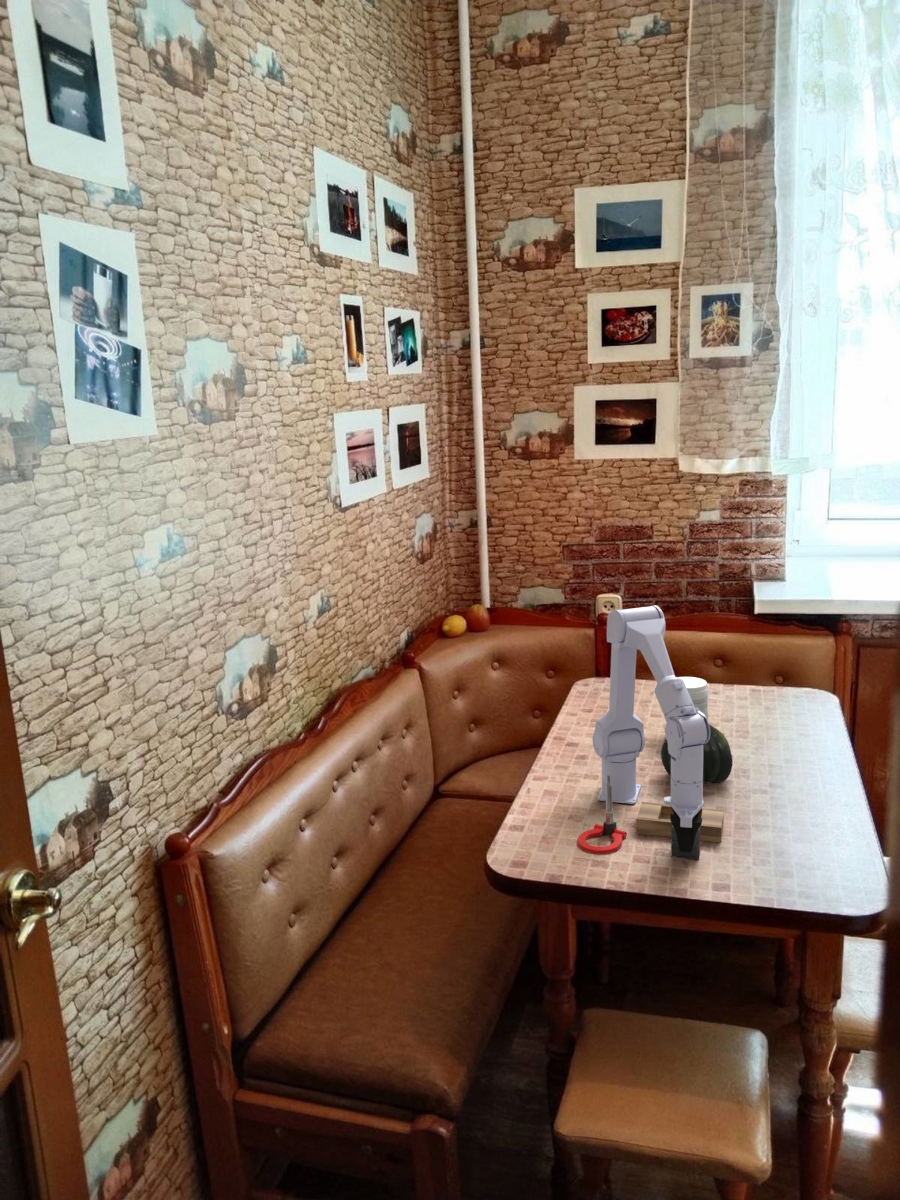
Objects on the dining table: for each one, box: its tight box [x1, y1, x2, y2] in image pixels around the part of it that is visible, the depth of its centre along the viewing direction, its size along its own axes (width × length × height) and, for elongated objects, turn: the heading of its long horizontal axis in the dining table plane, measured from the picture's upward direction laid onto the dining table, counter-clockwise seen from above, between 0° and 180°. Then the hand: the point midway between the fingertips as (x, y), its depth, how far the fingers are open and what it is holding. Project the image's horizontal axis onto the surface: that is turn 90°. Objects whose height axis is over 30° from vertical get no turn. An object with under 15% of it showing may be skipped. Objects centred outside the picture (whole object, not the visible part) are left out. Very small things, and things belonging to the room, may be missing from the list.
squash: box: [660, 723, 733, 785], centre depth 210 cm, size 14×15×15 cm
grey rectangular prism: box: [670, 825, 701, 861], centre depth 178 cm, size 3×5×6 cm, turn 71°
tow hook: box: [577, 774, 628, 855], centre depth 183 cm, size 8×13×9 cm
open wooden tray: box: [635, 801, 725, 843], centre depth 189 cm, size 8×16×3 cm, turn 71°
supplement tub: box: [678, 676, 709, 721], centre depth 233 cm, size 10×10×15 cm
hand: (685, 846), depth 178 cm, fingers closed on grey rectangular prism, 3 cm apart
